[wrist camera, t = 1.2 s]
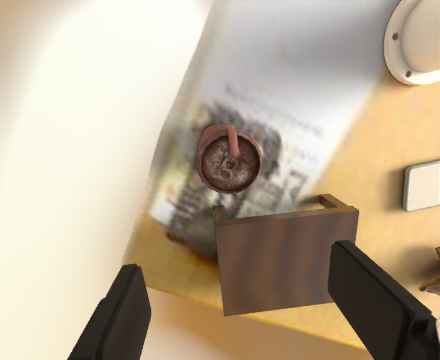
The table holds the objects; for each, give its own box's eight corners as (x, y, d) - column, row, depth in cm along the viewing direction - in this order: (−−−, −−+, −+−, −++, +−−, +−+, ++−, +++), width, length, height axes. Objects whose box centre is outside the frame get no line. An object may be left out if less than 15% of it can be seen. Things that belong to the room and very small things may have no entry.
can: (237, 118, 31) (261, 121, 17) (241, 160, 33) (266, 192, 19) (196, 124, 31) (189, 132, 17) (202, 166, 32) (201, 202, 19)
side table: (330, 192, 35) (359, 210, 29) (324, 269, 40) (347, 300, 34) (212, 205, 35) (214, 226, 28) (220, 282, 39) (224, 316, 33)
